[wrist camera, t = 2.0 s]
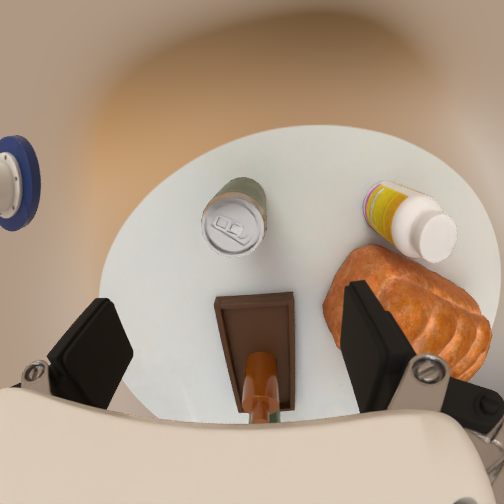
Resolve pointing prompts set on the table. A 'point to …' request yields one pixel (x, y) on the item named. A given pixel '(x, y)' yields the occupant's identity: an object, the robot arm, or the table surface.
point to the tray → (259, 338)
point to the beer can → (235, 218)
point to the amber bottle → (260, 387)
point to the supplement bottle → (410, 221)
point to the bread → (416, 308)
